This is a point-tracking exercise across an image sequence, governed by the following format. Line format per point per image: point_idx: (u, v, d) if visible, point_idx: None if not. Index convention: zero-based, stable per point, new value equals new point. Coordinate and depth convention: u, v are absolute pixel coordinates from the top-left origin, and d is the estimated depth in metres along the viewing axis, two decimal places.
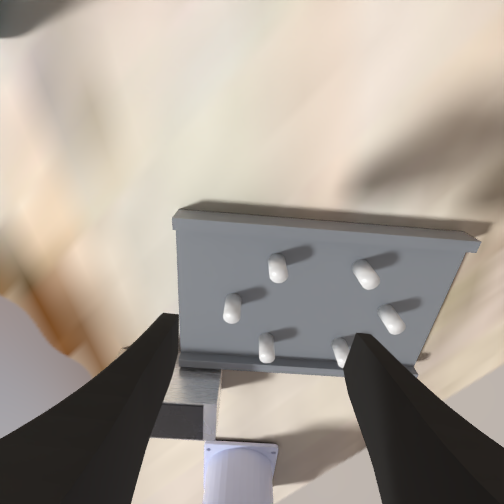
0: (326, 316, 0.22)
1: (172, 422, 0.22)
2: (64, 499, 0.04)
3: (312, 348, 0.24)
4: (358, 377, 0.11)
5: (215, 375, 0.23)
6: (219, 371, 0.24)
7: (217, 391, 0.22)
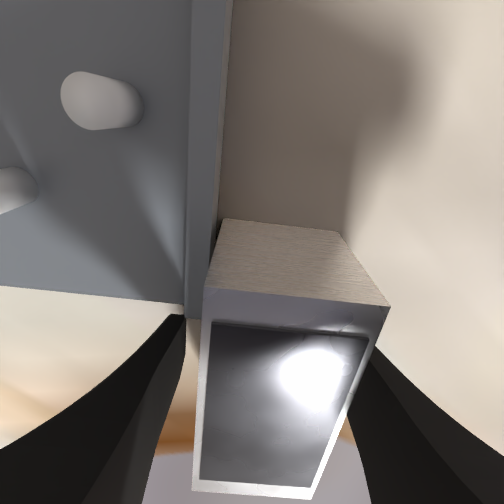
0: None
1: (276, 395, 0.08)
2: (84, 500, 0.04)
3: None
4: None
5: None
6: None
7: (211, 266, 0.08)
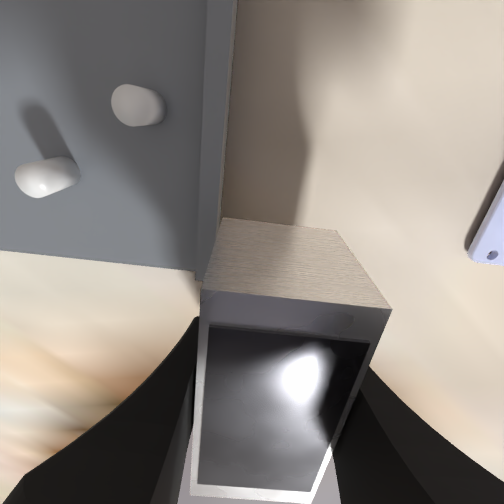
0: None
1: (276, 398, 0.08)
2: None
3: None
4: None
5: None
6: None
7: (209, 267, 0.08)
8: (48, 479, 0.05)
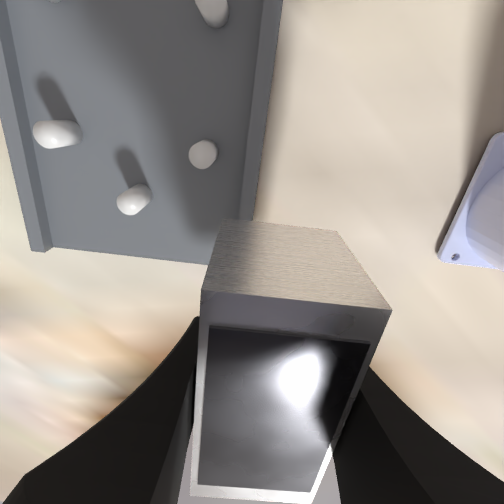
0: (155, 44, 0.13)
1: (276, 399, 0.08)
2: None
3: (228, 68, 0.14)
4: None
5: None
6: None
7: (209, 268, 0.08)
8: (48, 479, 0.05)
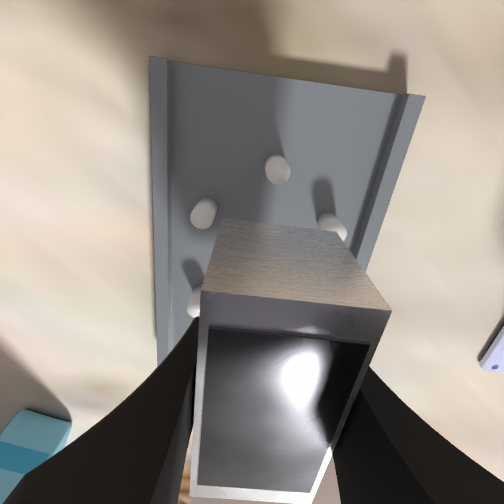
0: None
1: (275, 400, 0.08)
2: None
3: None
4: None
5: None
6: None
7: (209, 269, 0.08)
8: (48, 479, 0.05)
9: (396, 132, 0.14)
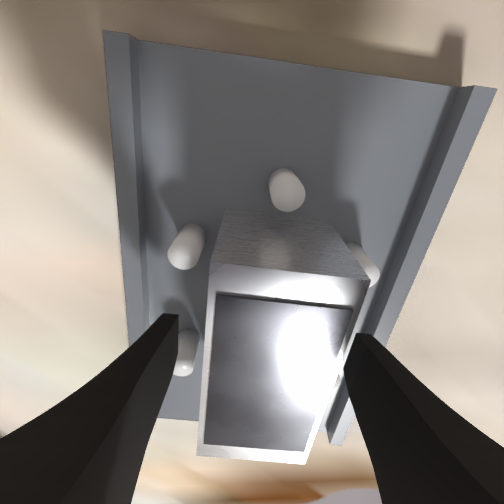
0: None
1: (273, 361, 0.09)
2: (64, 499, 0.04)
3: None
4: (358, 377, 0.11)
5: None
6: None
7: (216, 247, 0.09)
8: None
9: (451, 139, 0.10)
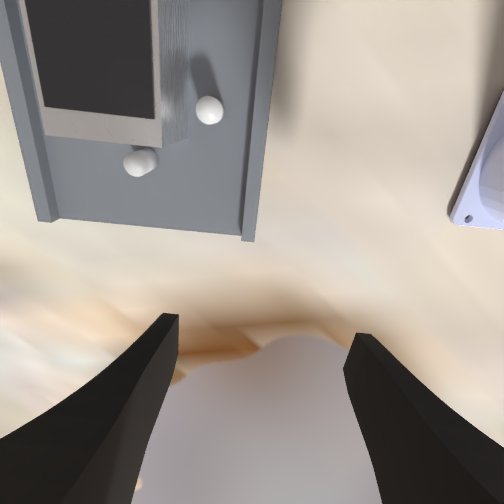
0: None
1: None
2: (64, 499, 0.04)
3: (233, 20, 0.13)
4: (358, 377, 0.11)
5: None
6: None
7: None
8: None
9: None
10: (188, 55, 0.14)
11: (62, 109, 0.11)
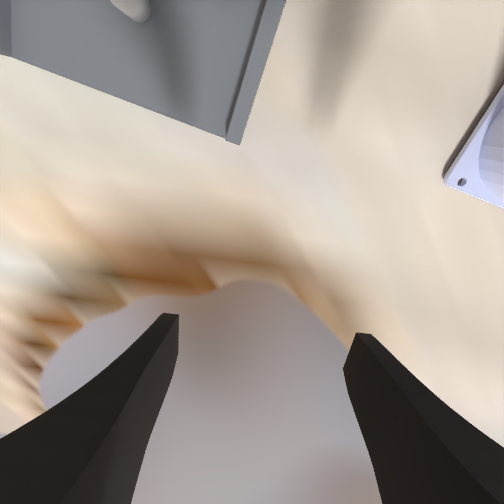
0: None
1: None
2: (64, 499, 0.04)
3: None
4: (358, 377, 0.11)
5: None
6: None
7: None
8: None
9: None
10: None
11: None
